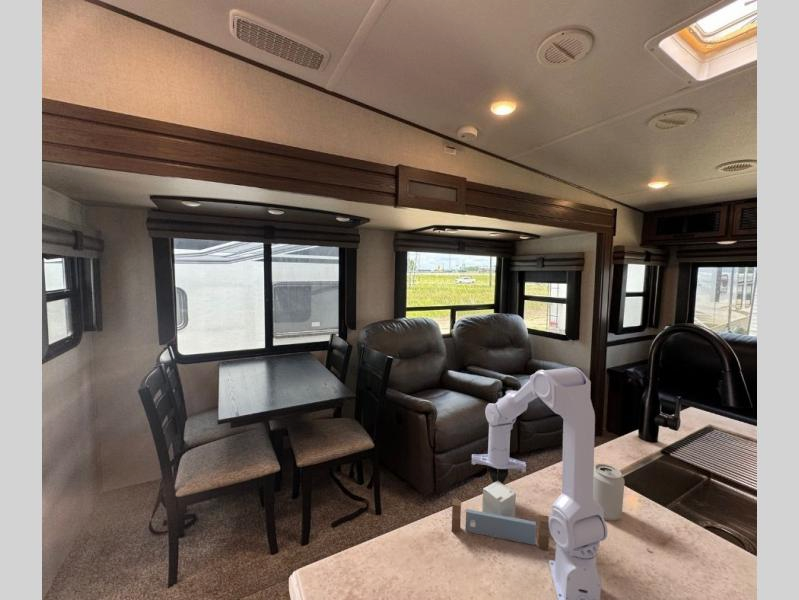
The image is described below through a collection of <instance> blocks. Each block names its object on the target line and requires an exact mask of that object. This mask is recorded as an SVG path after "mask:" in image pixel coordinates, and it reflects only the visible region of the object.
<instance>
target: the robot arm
mask: <svg viewBox="0 0 799 600" xmlns="http://www.w3.org/2000/svg"><path fill="white" fill-rule="evenodd" d="M591 382H592V381H591V380H590V379H589V378H588V376H586V375H585V373H584V372H583V371H582V370H581V369H580V368H578V367H575V366H568V367H564V368H554V369H546V370H544V369H538V370H537V371H535V373H533V374H531V375H530V376H529V380H528V381H526V383H525V384H524V385H523V386H521V387H520V388H519V389H518V390H513V389H512V390H511V389H510V390H506V391H505V395H504V396H503V397H500V398H498V399H497V401H496V403H493V402H492V403H490V402H489V403H488V404H487V405H486V406H485V411H484V413H485V418H486V421H487V423H488V445H487V446H488V447H487V453H483V454H474V453H473V454H471V465H474V466H476V464H477V465H483V466H484V465H485V466H487V469H488V475H489V476H490V479H491V481H492V483H494V482H496V481H499V482H501V483H502V484H503V485H504V482H505V480H506V479H507V478H508V476H509V469H510V470H515V471H521V473H527V472H526V471H527V463H526V462H525V461H521V460H519V459H516V458H512V457H510V448H511V447H510V445H511V444H510V443H511V430H513V428H514V427H513V425H514V424H515V423H516V420H517V417H518V416H520V415H521V414H523V413H524V412H526V411H527V410H528V407H529V406H528V405H529V403H531V402H532V401H534V400H535V399H538V398H539V399H540V400H541V401H542V402H543V403H544V404H545V405H546V406H547V408H550V410H551V411H552V412H554V413H555V414H556V415H559V416H560V417H561V418H562V419H563V424H562V430H563V431H562V471H561V474H562V475H561V494H560V495H559V496H558V498H557V499H556V500H555V501H554V502H553V503H552V505H551V507H552V510H551V514H550V515H549V516H548V517H549V530H550V533H549V534H550V535H551V537H552V539H553V540H554V542H555V554H554V555H555V556H554V557H555V558H554V560H552V559H549V560H548V564H549V569H550V574H551V577H552V581H553V586H554V589H555V592H556V594H555V595H556V597H557V600H601V594H602V593H601V591H602V581H601V578H600V575H599V572H598V567H597V556H598V555H597V554H598V549H599V548H600V544H601V542H603V541H605V540H606V539H607V538H608V532H609V531H608V526H607V523H606V519H604V509H603V508H602V507H601V506H600V505H599V503H598V502H596V501H595V500H594V499H593V477H594V466H595V464H594V463H595V437H596V436H595V434H596V433H595V432H596V431H595V430H596V427H595V426H596V425H595V424H596V414H595V410H594V407H593V402H592V399H591V391H592V390H591V386H592V385H591V384H592V383H591Z"/></svg>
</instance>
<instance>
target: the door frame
mask: <svg viewBox="0 0 799 600" xmlns="http://www.w3.org/2000/svg"><path fill="white" fill-rule="evenodd" d="M451 508H452V510H451V512H452V513H451V532H453V533H457V534H460V533H461V532H460V531H461V521H462V520H461V517H462V516H461V515H462V512H461V511H462V500H460V499H454V498H453V499H452V506H451ZM550 534H551V533H550V530H549V516H548V515H544V514H539V515H538V529H537V546H538V549H539V550H542V551H545V552H549V545H550Z"/></svg>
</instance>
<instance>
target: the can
mask: <svg viewBox="0 0 799 600" xmlns="http://www.w3.org/2000/svg"><path fill="white" fill-rule="evenodd" d="M625 483H626V482H625V478H624V477H623V474H622V472H621V470H619V469H618V468H616V467H615V466H613V465H611V464H608V463H607V464H606V463H596V464H594V477H593V499H594V500H595V501H596V502H598V503H599V505H600V506H601V507H602V508H603V509H604V520H606V521H607V520H608V521H616V520H619V519H621V518H622V516H623V508H624V507H623V505H624V493H625V491H624V490H625Z"/></svg>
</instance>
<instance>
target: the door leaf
mask: <svg viewBox="0 0 799 600" xmlns="http://www.w3.org/2000/svg"><path fill="white" fill-rule="evenodd" d="M464 529H465V532H469V533H474V534H480V535H484V536H488V537H494V538H498V539H505V540H508V541H512V542H513V541H514V542H519V543H524V544H529V545H534V546H535V545H536V536H537V535H536V534H537V523H536V521H534V520H533V521H532V520H528V519H522V518H517V517H515V518H512V517H507V516H502V515H496V514H491V513H485V512H482V511H479V510H475V509H469V508H466V509H465V528H464Z"/></svg>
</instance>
